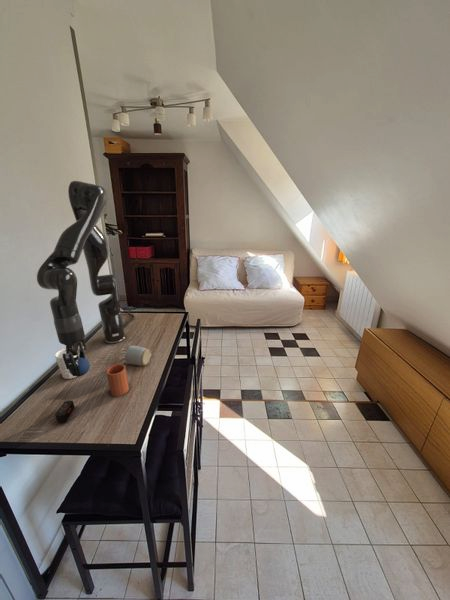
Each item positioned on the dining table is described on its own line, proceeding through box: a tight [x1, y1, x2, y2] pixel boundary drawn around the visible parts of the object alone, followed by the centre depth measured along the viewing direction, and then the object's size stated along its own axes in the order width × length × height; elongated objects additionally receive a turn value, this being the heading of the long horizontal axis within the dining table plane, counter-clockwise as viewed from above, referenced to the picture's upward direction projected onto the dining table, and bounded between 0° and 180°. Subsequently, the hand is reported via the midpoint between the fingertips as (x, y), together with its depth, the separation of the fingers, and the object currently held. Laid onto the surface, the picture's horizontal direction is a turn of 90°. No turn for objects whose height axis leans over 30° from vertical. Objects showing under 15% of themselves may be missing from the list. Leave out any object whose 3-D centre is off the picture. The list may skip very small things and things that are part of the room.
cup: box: [105, 363, 130, 397], centre depth 89 cm, size 6×6×9 cm
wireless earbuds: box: [54, 400, 76, 424], centre depth 79 cm, size 5×7×3 cm, turn 6°
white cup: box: [54, 347, 78, 380], centre depth 98 cm, size 8×8×10 cm
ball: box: [69, 357, 91, 377], centre depth 87 cm, size 6×6×6 cm
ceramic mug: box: [124, 345, 152, 367], centre depth 106 cm, size 11×8×8 cm
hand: (80, 369), depth 88 cm, fingers closed on ball, 6 cm apart
